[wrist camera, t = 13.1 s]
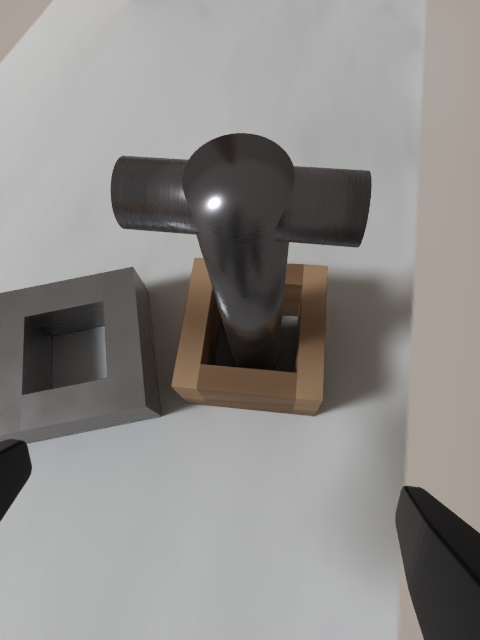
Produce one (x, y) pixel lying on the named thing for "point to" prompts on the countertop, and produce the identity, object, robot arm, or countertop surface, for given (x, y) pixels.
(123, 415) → the block
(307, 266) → the wooden square frame
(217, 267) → the chuck key
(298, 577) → the countertop surface
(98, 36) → the countertop surface
